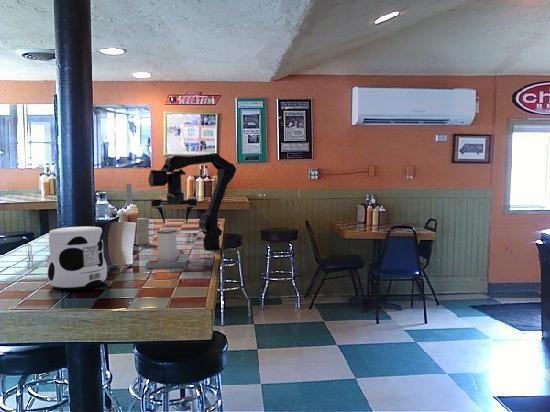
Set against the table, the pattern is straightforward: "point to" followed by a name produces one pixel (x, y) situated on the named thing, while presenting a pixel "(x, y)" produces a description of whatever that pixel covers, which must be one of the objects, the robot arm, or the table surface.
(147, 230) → the skincare box
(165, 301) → the table surface
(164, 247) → the plug
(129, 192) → the bottle
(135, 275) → the table surface
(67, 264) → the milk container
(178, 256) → the socket plate
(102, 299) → the table surface
